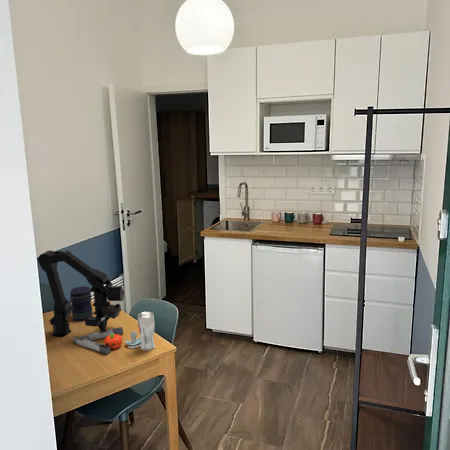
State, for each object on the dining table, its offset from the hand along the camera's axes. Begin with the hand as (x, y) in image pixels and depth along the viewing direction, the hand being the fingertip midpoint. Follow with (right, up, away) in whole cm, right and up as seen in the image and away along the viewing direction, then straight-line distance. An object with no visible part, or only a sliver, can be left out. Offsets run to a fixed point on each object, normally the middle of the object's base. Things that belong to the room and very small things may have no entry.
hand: (103, 332), depth 191 cm
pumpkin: (+8, -3, -12) cm, 14 cm away
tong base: (-2, -4, -12) cm, 13 cm away
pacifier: (+17, -3, -11) cm, 20 cm away
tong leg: (0, -1, -3) cm, 3 cm away
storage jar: (-16, +2, +19) cm, 25 cm away
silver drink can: (+23, -3, -13) cm, 26 cm away
